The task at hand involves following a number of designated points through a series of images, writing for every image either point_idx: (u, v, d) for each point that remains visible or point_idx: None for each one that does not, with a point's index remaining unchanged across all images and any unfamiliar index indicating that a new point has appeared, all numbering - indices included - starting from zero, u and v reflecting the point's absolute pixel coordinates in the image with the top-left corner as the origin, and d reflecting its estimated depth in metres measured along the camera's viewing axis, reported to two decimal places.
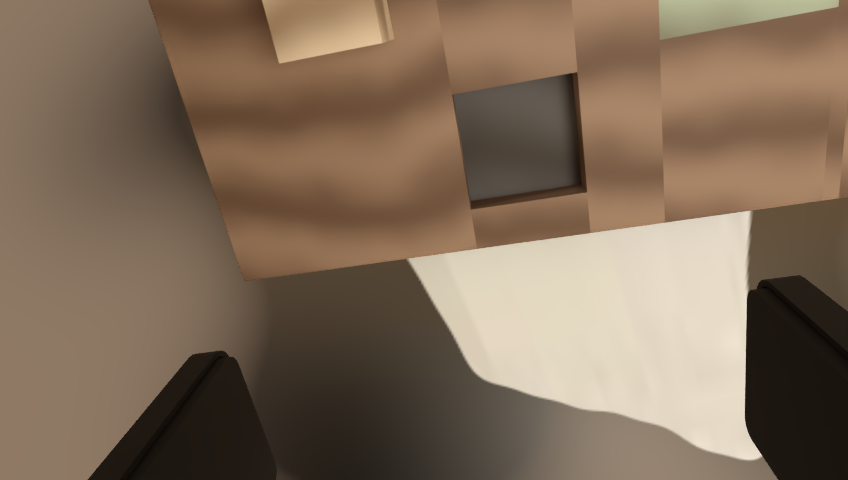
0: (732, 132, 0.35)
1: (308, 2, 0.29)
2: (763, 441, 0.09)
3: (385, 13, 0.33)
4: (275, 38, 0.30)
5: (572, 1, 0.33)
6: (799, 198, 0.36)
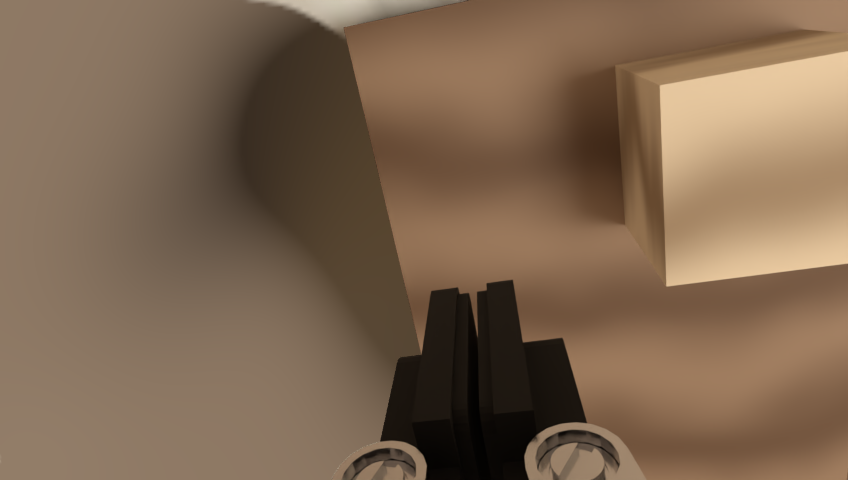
0: None
1: (757, 188, 0.15)
2: None
3: None
4: (671, 246, 0.16)
5: None
6: None
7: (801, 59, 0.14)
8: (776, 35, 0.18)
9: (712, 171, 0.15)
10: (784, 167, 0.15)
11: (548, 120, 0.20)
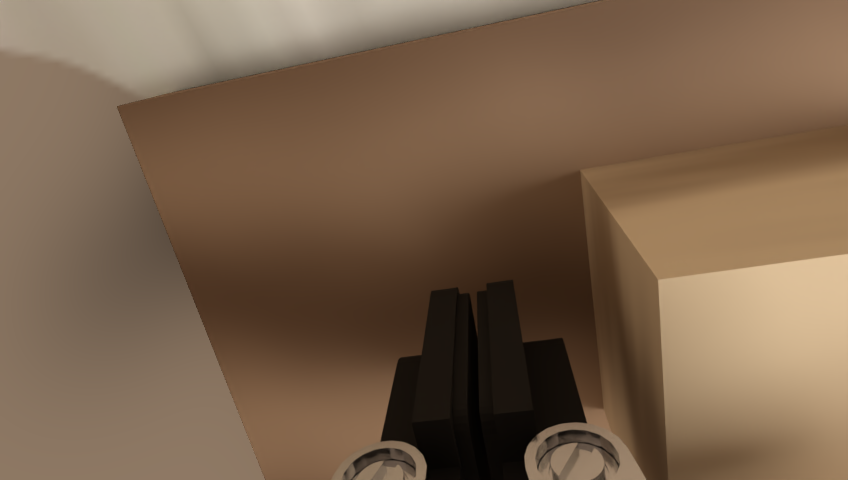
0: None
1: None
2: None
3: None
4: None
5: None
6: None
7: None
8: None
9: (772, 441, 0.07)
10: None
11: (468, 254, 0.12)
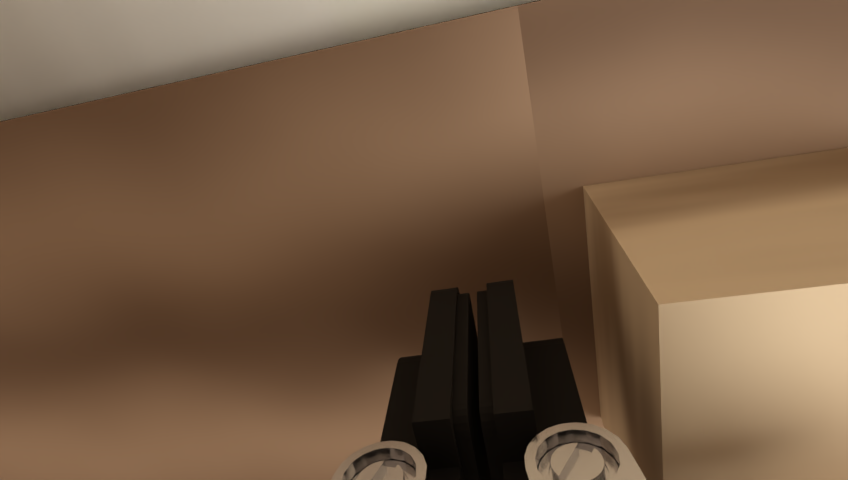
0: None
1: None
2: None
3: None
4: None
5: None
6: None
7: None
8: None
9: (763, 459, 0.07)
10: None
11: (78, 304, 0.13)
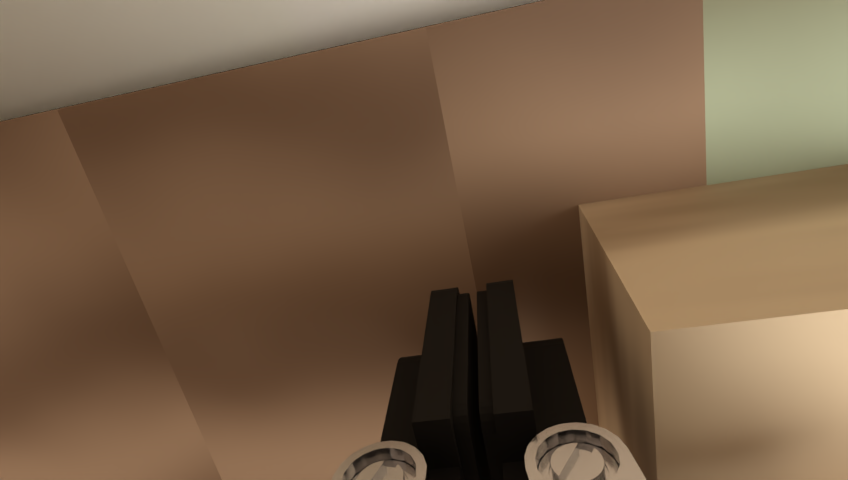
0: None
1: None
2: None
3: None
4: None
5: None
6: None
7: None
8: (847, 167, 0.11)
9: (755, 478, 0.08)
10: None
11: None
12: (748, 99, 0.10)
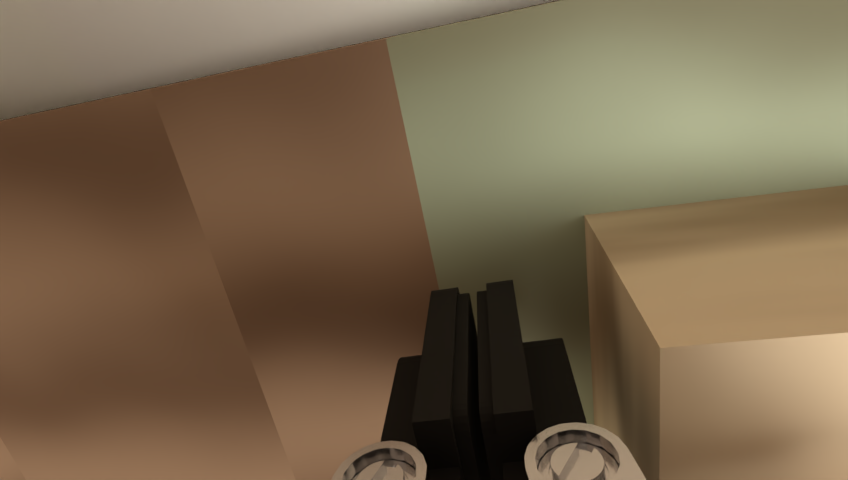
0: None
1: None
2: None
3: None
4: None
5: (278, 429, 0.14)
6: None
7: None
8: None
9: None
10: None
11: None
12: (449, 157, 0.11)
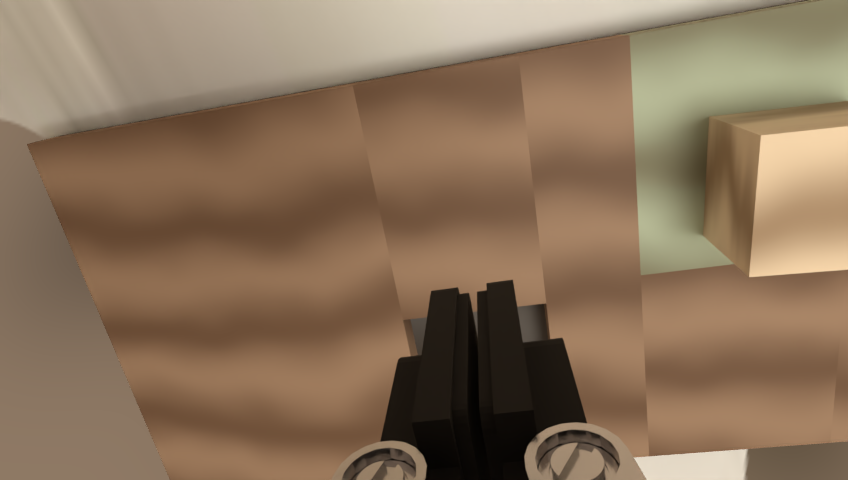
0: (725, 370, 0.30)
1: (820, 209, 0.22)
2: None
3: None
4: (756, 247, 0.23)
5: (539, 232, 0.28)
6: (803, 439, 0.31)
7: None
8: (828, 103, 0.25)
9: (790, 196, 0.22)
10: (839, 196, 0.22)
11: (168, 206, 0.30)
12: (649, 88, 0.25)
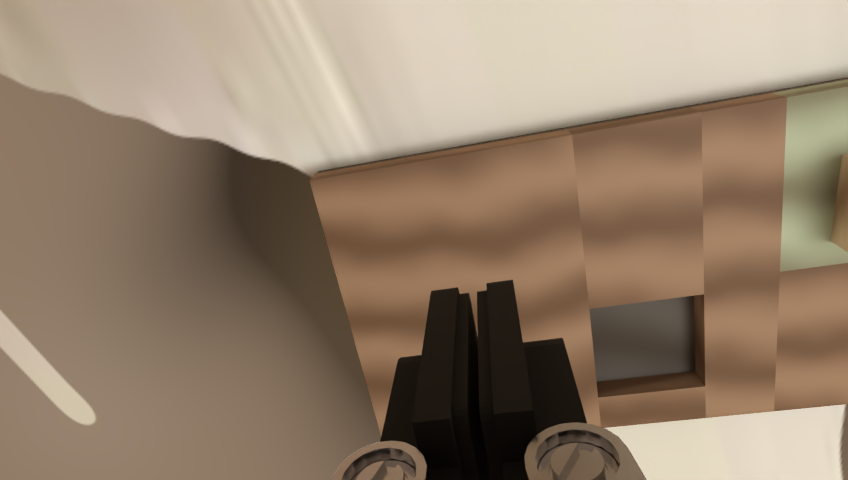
0: (840, 343, 0.40)
1: None
2: None
3: None
4: None
5: (704, 241, 0.38)
6: None
7: None
8: None
9: None
10: None
11: (414, 225, 0.39)
12: (798, 135, 0.34)
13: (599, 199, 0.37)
